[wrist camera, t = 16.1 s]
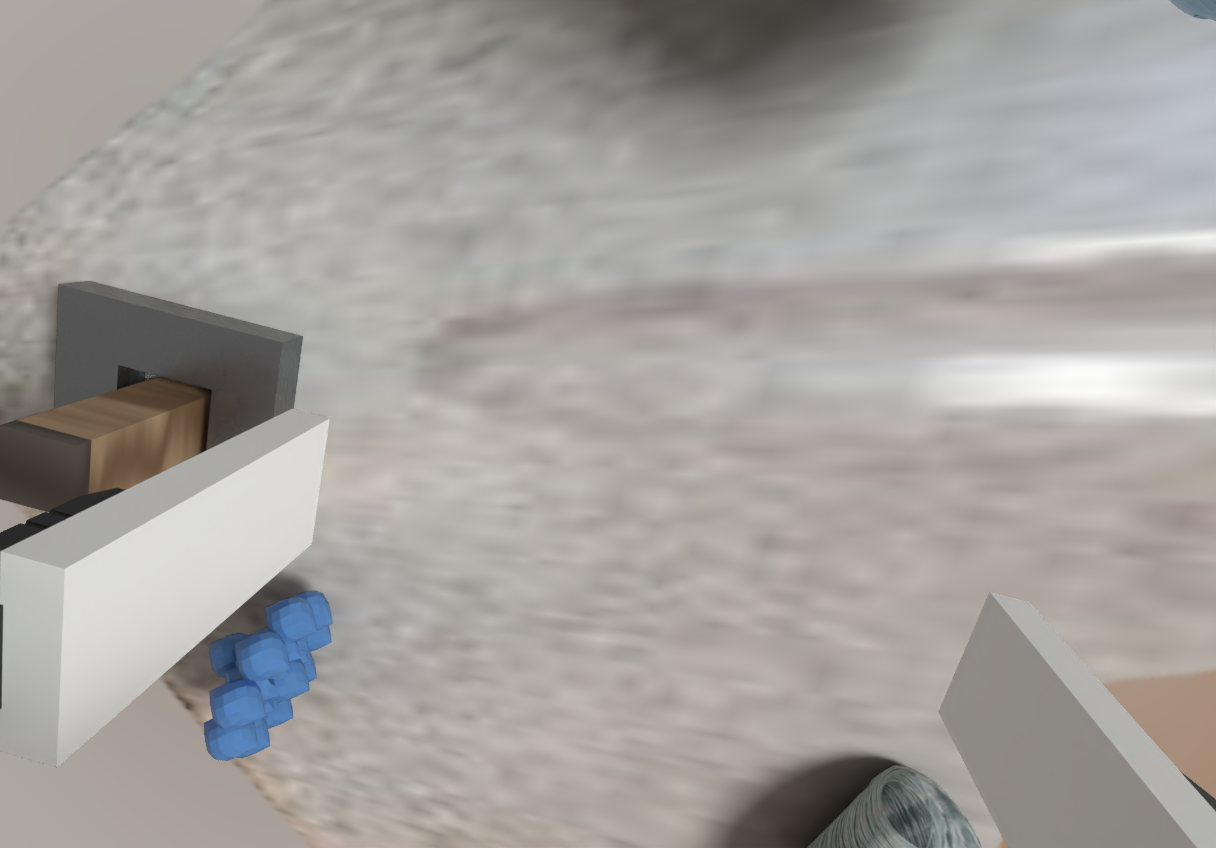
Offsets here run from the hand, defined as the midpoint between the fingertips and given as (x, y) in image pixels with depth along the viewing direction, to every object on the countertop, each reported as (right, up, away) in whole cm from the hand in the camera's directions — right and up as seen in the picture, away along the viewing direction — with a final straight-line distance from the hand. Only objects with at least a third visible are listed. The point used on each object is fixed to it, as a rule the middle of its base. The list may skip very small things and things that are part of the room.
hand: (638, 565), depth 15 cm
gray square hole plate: (-28, +3, +35) cm, 45 cm away
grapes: (-22, -11, +38) cm, 45 cm away
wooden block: (-28, +3, +35) cm, 45 cm away
